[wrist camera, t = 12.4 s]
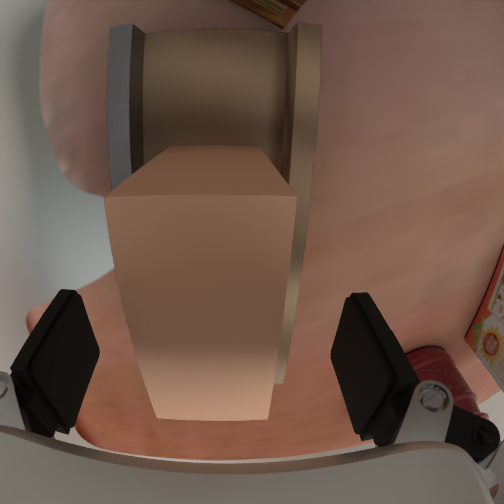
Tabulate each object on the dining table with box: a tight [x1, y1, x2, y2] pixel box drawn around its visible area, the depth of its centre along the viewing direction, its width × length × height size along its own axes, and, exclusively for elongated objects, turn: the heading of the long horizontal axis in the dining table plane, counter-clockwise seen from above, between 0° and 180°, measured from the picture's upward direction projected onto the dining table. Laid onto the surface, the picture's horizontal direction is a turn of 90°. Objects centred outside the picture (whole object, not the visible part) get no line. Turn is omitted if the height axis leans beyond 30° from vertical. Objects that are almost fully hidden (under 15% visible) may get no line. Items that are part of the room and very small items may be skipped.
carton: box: [104, 145, 297, 421], centre depth 14 cm, size 5×10×10 cm, turn 177°
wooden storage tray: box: [107, 22, 322, 384], centre depth 19 cm, size 24×11×6 cm, turn 178°
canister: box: [406, 347, 489, 420], centre depth 25 cm, size 13×13×18 cm
